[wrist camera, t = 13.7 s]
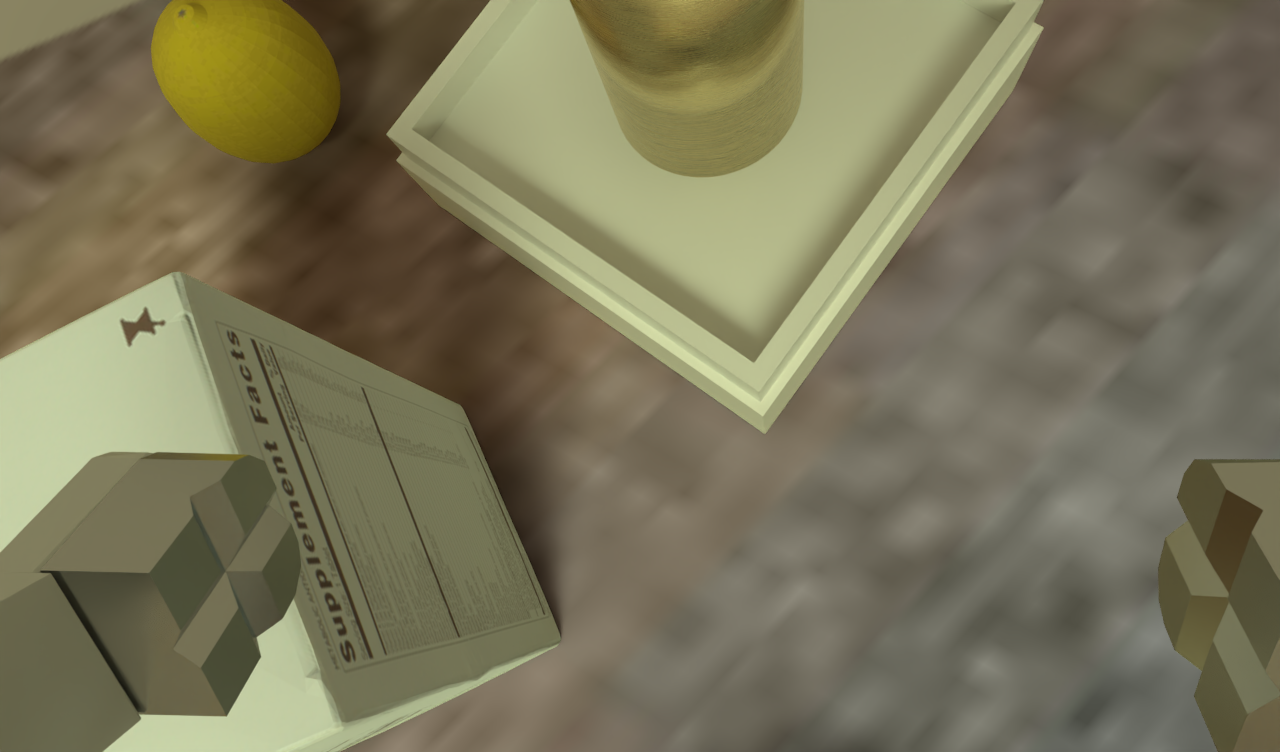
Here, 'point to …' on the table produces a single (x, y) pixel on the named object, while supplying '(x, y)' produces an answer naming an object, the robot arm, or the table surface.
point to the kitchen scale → (716, 179)
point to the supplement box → (293, 507)
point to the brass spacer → (698, 77)
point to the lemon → (247, 76)
